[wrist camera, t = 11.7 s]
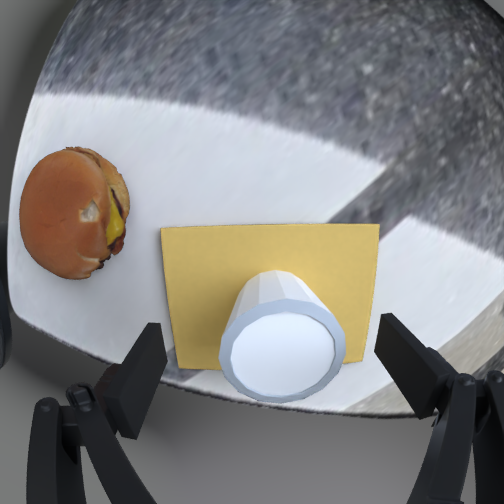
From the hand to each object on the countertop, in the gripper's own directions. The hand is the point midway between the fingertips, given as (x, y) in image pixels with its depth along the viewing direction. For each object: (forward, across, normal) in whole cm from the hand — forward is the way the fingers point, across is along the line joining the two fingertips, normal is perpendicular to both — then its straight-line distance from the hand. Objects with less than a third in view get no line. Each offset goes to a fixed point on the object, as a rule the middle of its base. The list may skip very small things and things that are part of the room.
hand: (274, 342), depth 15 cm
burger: (+6, -14, +8) cm, 18 cm away
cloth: (+6, 0, 0) cm, 6 cm away
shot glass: (+6, 0, 0) cm, 6 cm away
